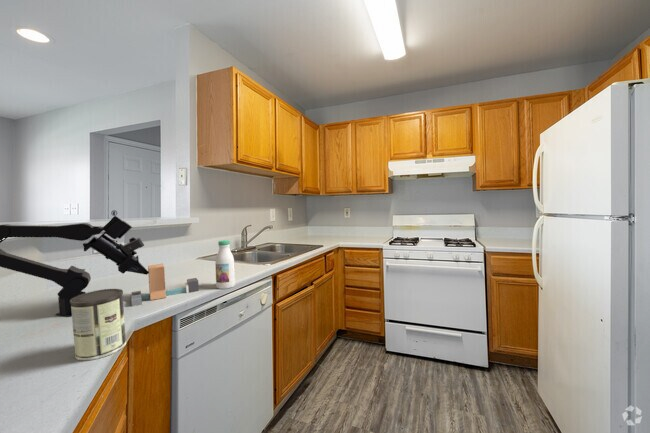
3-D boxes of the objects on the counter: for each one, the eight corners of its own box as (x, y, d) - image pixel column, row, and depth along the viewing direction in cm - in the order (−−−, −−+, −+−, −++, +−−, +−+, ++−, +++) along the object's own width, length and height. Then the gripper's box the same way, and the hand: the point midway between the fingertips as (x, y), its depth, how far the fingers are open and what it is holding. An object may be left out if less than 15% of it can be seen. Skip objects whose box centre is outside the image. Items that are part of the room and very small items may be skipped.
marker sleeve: (150, 300, 105) (148, 268, 104) (149, 295, 111) (147, 265, 110) (165, 297, 108) (164, 266, 107) (164, 292, 114) (162, 263, 113)
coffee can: (96, 340, 75) (92, 289, 75) (135, 338, 76) (132, 287, 75) (62, 362, 65) (57, 303, 64) (107, 360, 65) (103, 301, 65)
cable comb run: (131, 306, 100) (131, 294, 99) (131, 297, 110) (131, 286, 109) (200, 293, 113) (200, 282, 112) (195, 285, 123) (194, 276, 122)
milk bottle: (227, 283, 126) (225, 239, 125) (239, 285, 122) (237, 240, 121) (212, 287, 119) (210, 241, 118) (224, 290, 115) (222, 242, 114)
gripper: (127, 233, 96) (166, 260, 102) (128, 229, 111) (161, 253, 118) (100, 259, 92) (142, 286, 99) (104, 251, 107) (140, 275, 114)
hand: (147, 273), depth 107 cm, fingers closed, pressing on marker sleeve
